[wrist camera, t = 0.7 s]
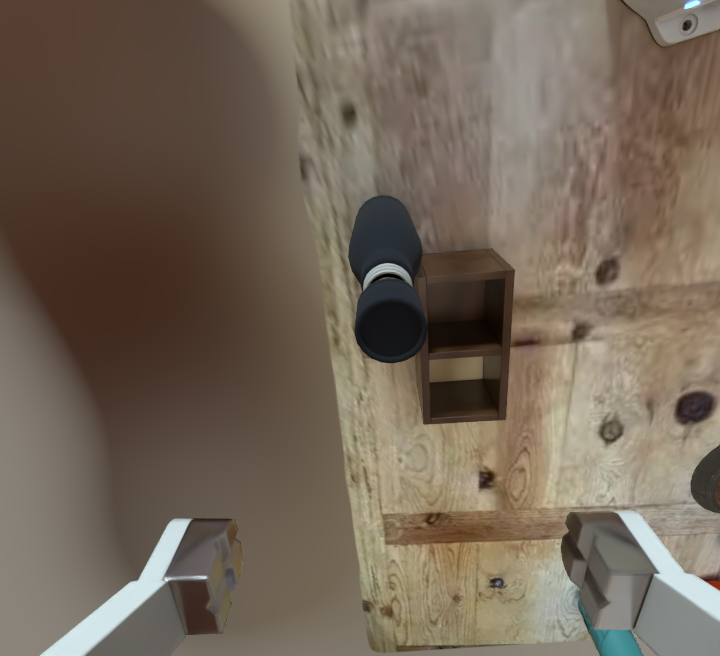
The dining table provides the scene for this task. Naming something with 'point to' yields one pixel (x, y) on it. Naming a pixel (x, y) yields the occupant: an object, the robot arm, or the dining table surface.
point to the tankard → (708, 482)
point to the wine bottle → (387, 281)
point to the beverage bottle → (612, 639)
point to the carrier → (464, 336)
